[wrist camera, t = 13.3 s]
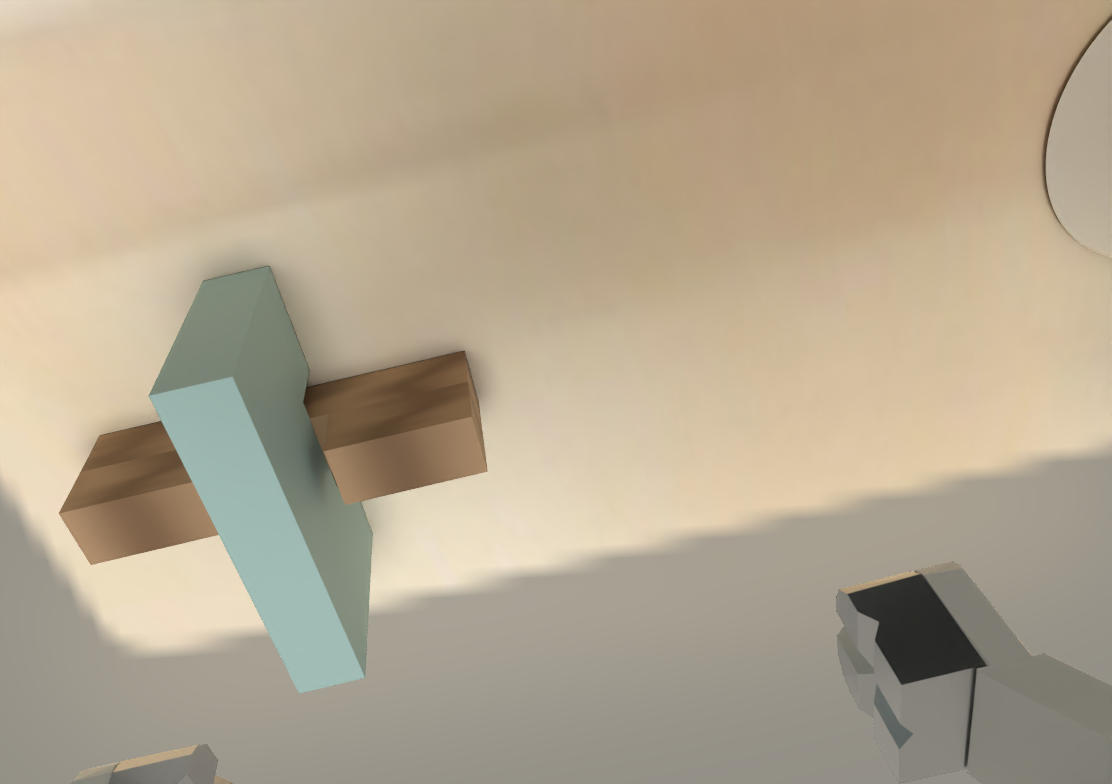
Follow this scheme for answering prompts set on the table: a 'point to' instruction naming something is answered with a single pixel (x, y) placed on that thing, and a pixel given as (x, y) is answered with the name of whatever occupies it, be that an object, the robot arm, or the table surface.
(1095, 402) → the table surface
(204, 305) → the teal plate
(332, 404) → the walnut notched block
